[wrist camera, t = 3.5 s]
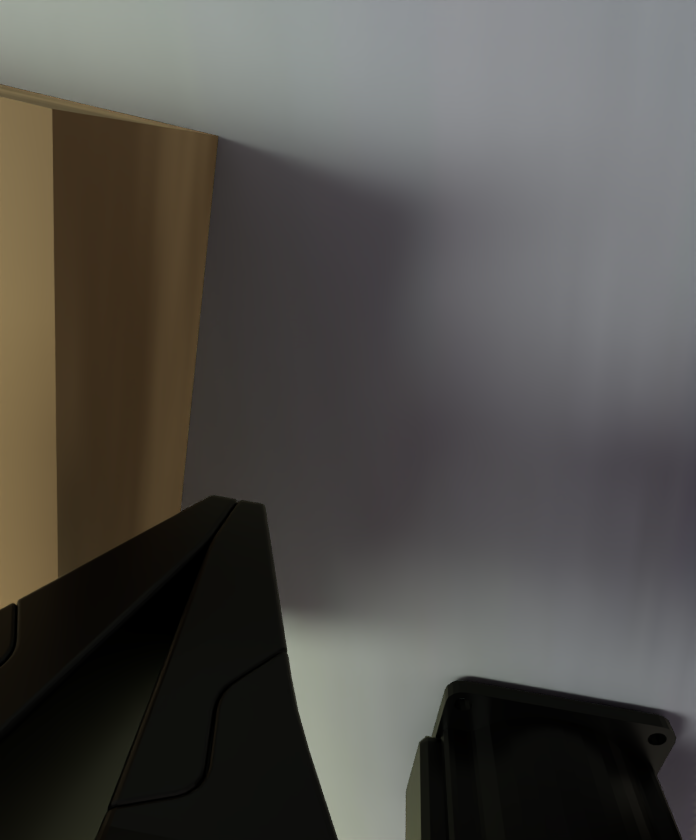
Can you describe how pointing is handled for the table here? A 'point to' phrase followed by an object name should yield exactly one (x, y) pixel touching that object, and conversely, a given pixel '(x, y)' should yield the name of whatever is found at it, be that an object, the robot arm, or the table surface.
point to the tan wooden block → (94, 327)
